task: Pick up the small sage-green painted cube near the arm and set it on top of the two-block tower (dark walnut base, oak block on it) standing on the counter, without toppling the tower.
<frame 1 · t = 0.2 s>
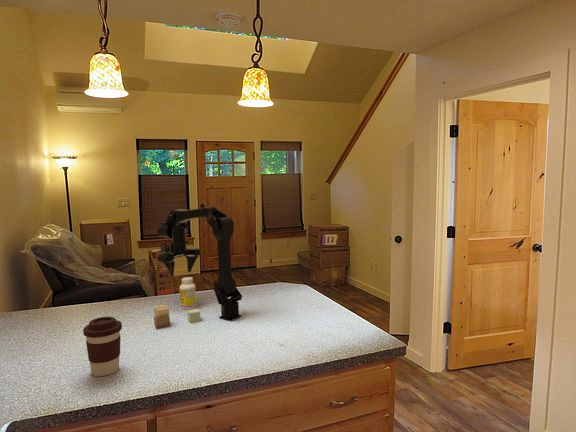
hand: (180, 274, 167), 14 cm above the counter, fingers open, 9 cm apart
walnut base: (162, 326, 146), on the counter, touching oak block
sage block: (194, 320, 151), on the counter
oak block: (161, 317, 146), point 3 cm above the counter, touching walnut base
supplement bottle: (188, 307, 167), on the counter
coffee cup: (105, 371, 111), on the counter
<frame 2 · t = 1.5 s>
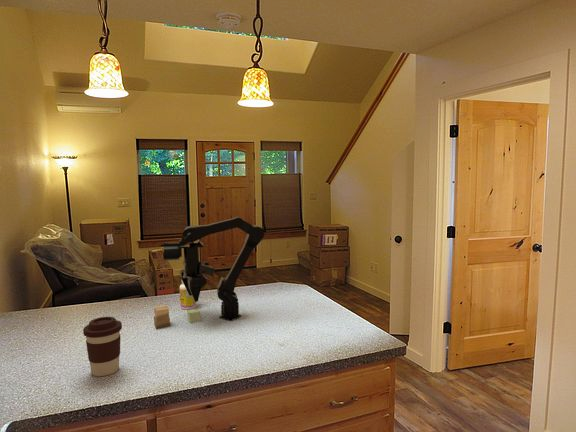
hand: (193, 298, 150), 9 cm above the counter, fingers open, 9 cm apart
nothing on the counter moved.
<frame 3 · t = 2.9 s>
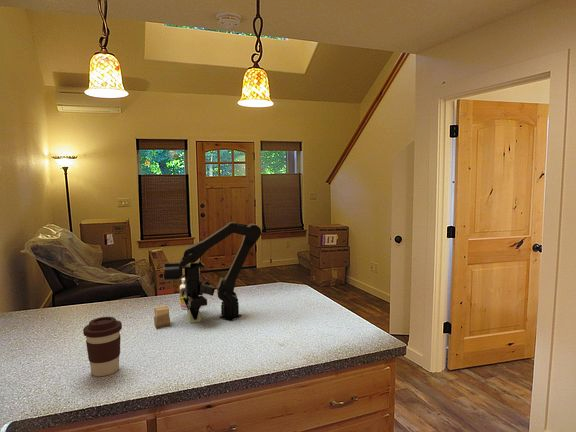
hand: (193, 318, 151), 1 cm above the counter, fingers closed on sage block, 4 cm apart
sage block: (194, 320, 151), on the counter, touching gripper
everything else where it was.
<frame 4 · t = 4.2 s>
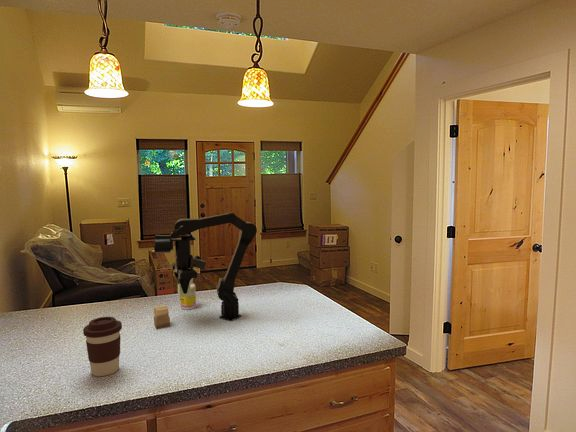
hand: (184, 292, 148), 12 cm above the counter, fingers closed on sage block, 4 cm apart
sage block: (184, 294, 148), point 11 cm above the counter, touching gripper
everything else where it was.
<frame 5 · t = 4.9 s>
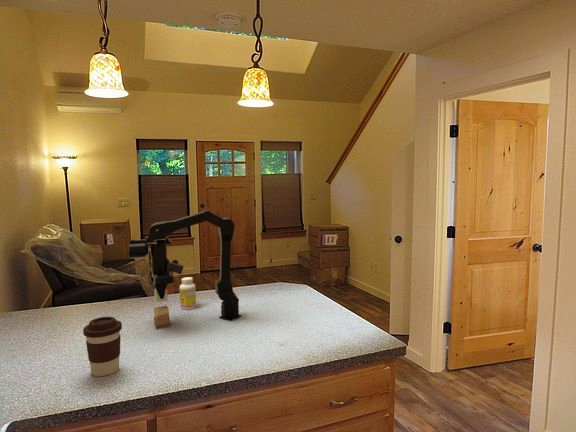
hand: (161, 297, 145), 11 cm above the counter, fingers closed on sage block, 4 cm apart
walnut base: (162, 326, 146), on the counter
sage block: (161, 299, 145), point 10 cm above the counter, touching gripper
oak block: (161, 316, 146), point 3 cm above the counter
everything else where it was.
when the fingers open (9 cm above the counter, at t = 5.5 s): sage block drops 1 cm, resting on oak block.
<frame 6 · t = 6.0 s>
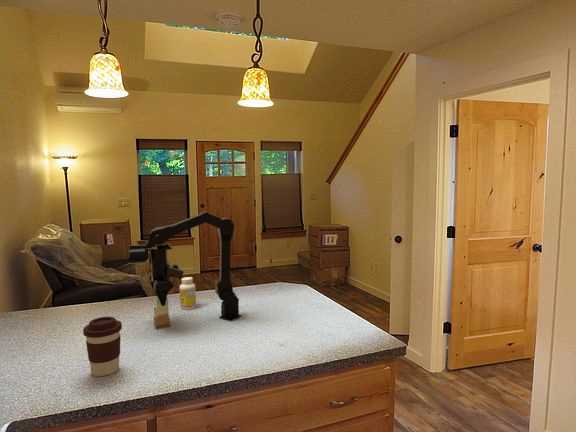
hand: (161, 302, 145), 9 cm above the counter, fingers open, 9 cm apart
walnut base: (162, 325, 146), on the counter, touching oak block
sage block: (161, 307, 145), point 7 cm above the counter, touching oak block
oak block: (161, 316, 146), point 3 cm above the counter, touching sage block, walnut base
everything else where it was.
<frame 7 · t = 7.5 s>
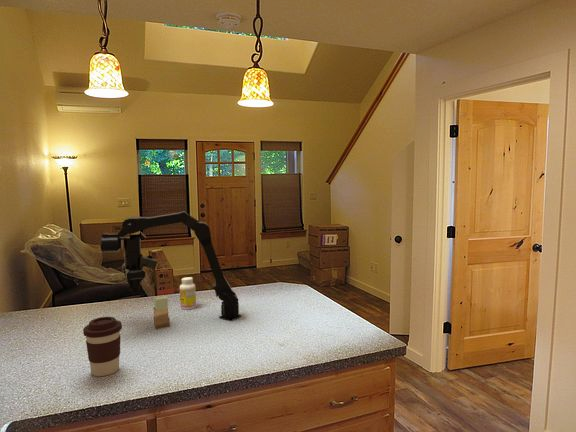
hand: (134, 292, 144), 13 cm above the counter, fingers open, 9 cm apart
nothing on the counter moved.
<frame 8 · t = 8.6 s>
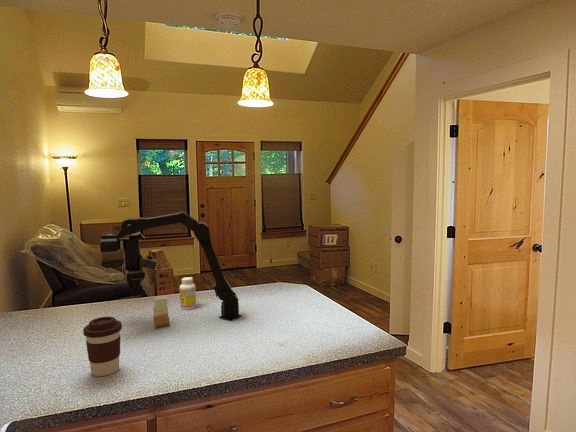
hand: (134, 293, 144), 13 cm above the counter, fingers open, 9 cm apart
nothing on the counter moved.
at the end: sage block 0.0 cm off-centre on the walnut base, point 7.0 cm above the walnut base's base; oak block 0.2 cm off-centre on the walnut base, point 3.5 cm above the walnut base's base; sage block tilted 0° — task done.
